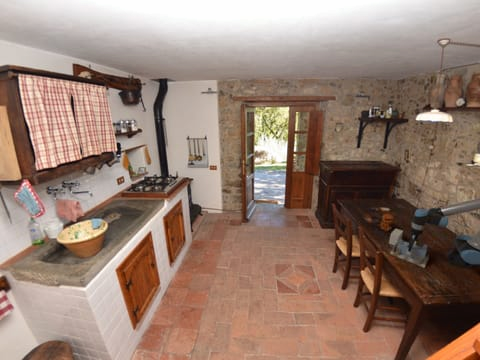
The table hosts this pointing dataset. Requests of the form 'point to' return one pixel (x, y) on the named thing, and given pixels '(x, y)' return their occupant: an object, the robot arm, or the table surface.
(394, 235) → the wing bar
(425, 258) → the jig board
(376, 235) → the table surface
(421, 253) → the notched blue block
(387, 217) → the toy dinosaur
